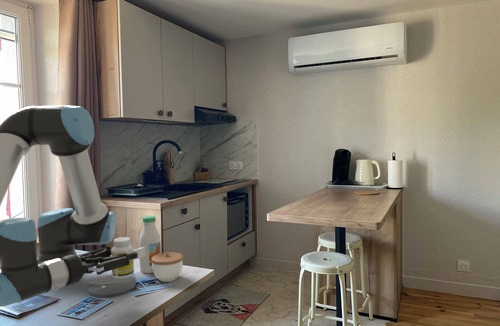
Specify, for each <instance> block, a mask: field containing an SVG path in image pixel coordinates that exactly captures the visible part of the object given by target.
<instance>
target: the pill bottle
mask: <svg viewBox="0 0 500 326" xmlns="http://www.w3.org/2000/svg"><path fill="white" fill-rule="evenodd" d="M130 243H131V238H130V237H129V236H128V237H127V236H120V237H117V238H116V237H115V238H113V245H114V246H113V247H111V248H112V249H111V248H110V249H111V256H116V255H121V254H125V252H128V251H131V250H134V247H133V245H132V244H131V245H129V244H130ZM134 262H135V261H134V260H131V261H130V265H127V266H124V267H120V268H117V269H114V270H111V275H112V276H113V277H114V278H117V279H124V278H128V277H130V276H132V277H133V275H134V272H135V268H134V266H135V265H134Z"/></svg>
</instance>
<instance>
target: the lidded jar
mask: <svg viewBox="0 0 500 326" xmlns="http://www.w3.org/2000/svg"><path fill="white" fill-rule="evenodd" d="M183 259H184V256H183V254H182V253H180V252H171V251H170V252H169V251H165V252H161V253H160V254H157V255H154V256H153V257H152V258H151V261H152V269H153V273H152V274H153V276H155V277H156V279H158V281H160V282H162V283H170V282H174V281H175V280H177V278H178V277H179V275H180V274H181V272H182V270H183V263H184V262H183V261H184V260H183Z"/></svg>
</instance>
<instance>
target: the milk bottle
mask: <svg viewBox="0 0 500 326" xmlns="http://www.w3.org/2000/svg"><path fill="white" fill-rule="evenodd" d="M156 221H157V220H156V216H154V215H148V216H144V217H142V224H143V225H142V226H143V227H142V230H141V233H140V235H139V239H138V245H139V246H138V247H139V248H141V247H145V256H144V257H141V258H139V270H140V272H141V273H143V274H151V273H152V274H154V273H153V269H152V261H151V258H152V257H153V256H154V255H157V254H160V253H162V250H161V249H162V248H161V246H162V245H161V244H162V243H161V237H160V236H161V235H160V233H159V231H158V229H157V226H156Z"/></svg>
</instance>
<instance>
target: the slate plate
mask: <svg viewBox="0 0 500 326" xmlns="http://www.w3.org/2000/svg"><path fill="white" fill-rule="evenodd" d="M136 283H137V280H136V277H134V276H133V275H132V276H130V277H128V278H124V279H117V278H114V277H113V276H112V274H110V275H106V276H102V277H98V278H96V279H93V280H92V281H90V282H89V283H88V284H87V285H86V292H87V294H88V295H89V296H92V297H96V298H107V297H115V296H120V295H123V294H126V293H128V292H130V291H132V290H133V289H134V288H135V287H136V285H137V284H136ZM131 289H132V290H131Z"/></svg>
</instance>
